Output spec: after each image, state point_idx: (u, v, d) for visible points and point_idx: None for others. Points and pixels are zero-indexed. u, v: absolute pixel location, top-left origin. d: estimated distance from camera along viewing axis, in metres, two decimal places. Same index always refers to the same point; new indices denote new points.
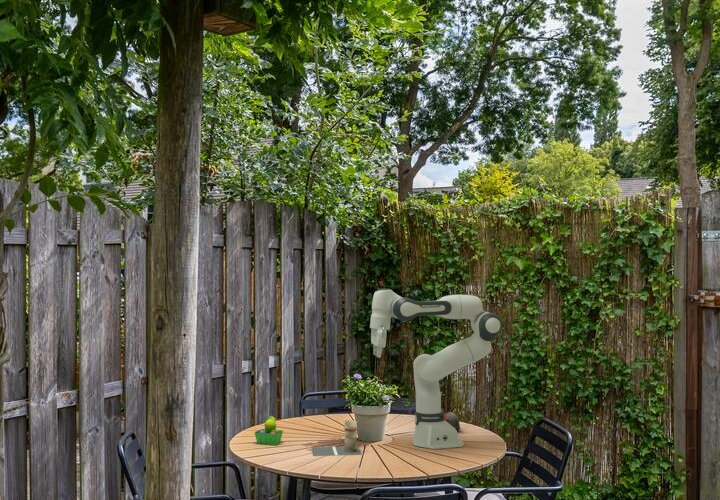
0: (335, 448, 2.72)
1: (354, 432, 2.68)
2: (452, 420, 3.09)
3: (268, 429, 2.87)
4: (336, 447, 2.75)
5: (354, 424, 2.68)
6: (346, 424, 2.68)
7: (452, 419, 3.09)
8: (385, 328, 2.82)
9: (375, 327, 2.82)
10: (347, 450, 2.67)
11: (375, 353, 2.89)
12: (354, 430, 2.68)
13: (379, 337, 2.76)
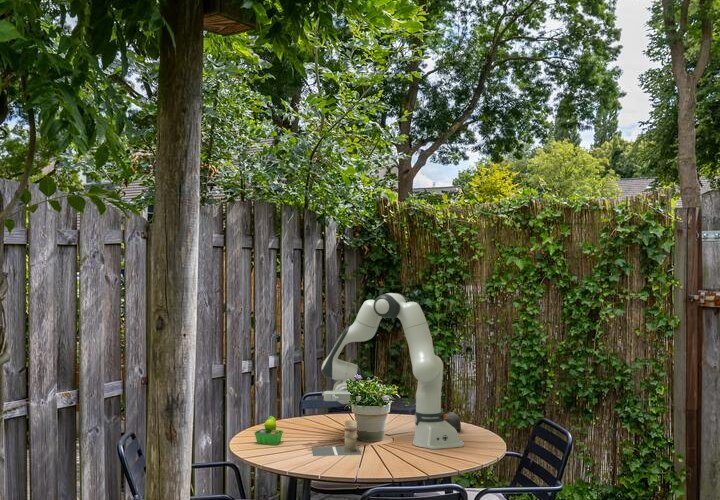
0: (335, 448, 2.72)
1: (354, 432, 2.68)
2: (453, 420, 3.09)
3: (268, 429, 2.87)
4: (336, 447, 2.75)
5: (354, 424, 2.68)
6: (346, 424, 2.68)
7: (453, 419, 3.09)
8: (336, 389, 2.94)
9: None
10: (347, 450, 2.67)
11: (356, 399, 2.84)
12: (354, 430, 2.68)
13: None
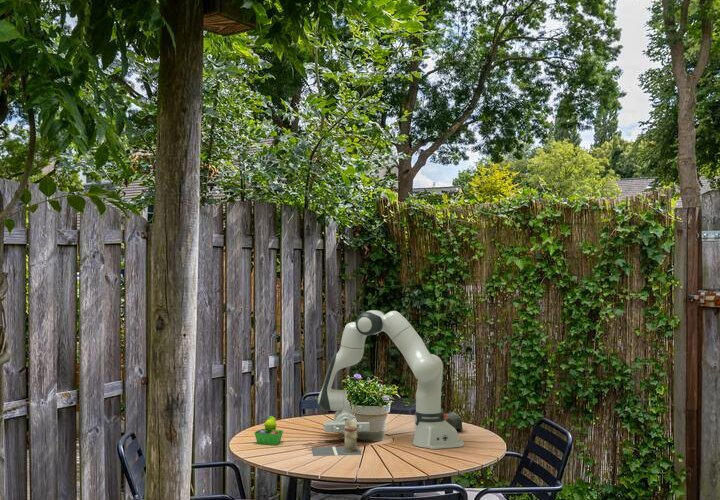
0: (335, 448, 2.72)
1: (354, 432, 2.68)
2: (455, 420, 3.09)
3: (268, 429, 2.87)
4: (336, 447, 2.75)
5: (354, 424, 2.68)
6: (346, 424, 2.68)
7: (455, 419, 3.09)
8: (337, 419, 2.91)
9: None
10: (347, 450, 2.67)
11: (357, 429, 2.80)
12: (354, 430, 2.68)
13: None
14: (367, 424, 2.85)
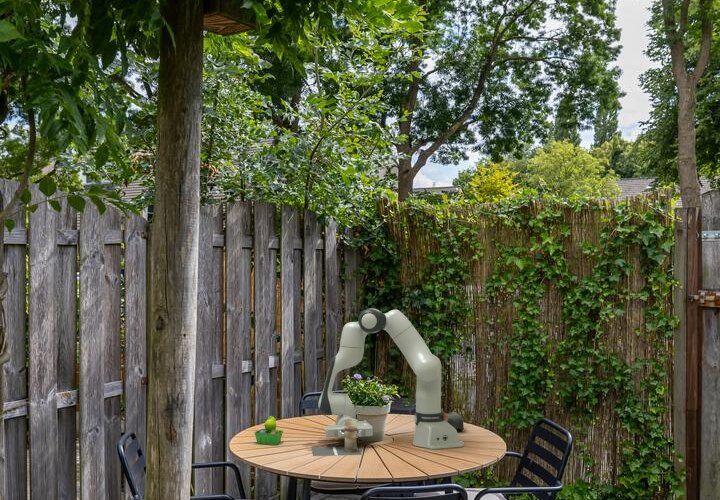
0: (335, 448, 2.72)
1: (354, 432, 2.68)
2: (456, 420, 3.09)
3: (268, 429, 2.87)
4: (336, 447, 2.75)
5: (354, 424, 2.68)
6: (346, 424, 2.68)
7: (456, 419, 3.09)
8: (338, 424, 2.81)
9: None
10: (347, 450, 2.67)
11: None
12: (354, 430, 2.68)
13: None
14: (370, 429, 2.75)
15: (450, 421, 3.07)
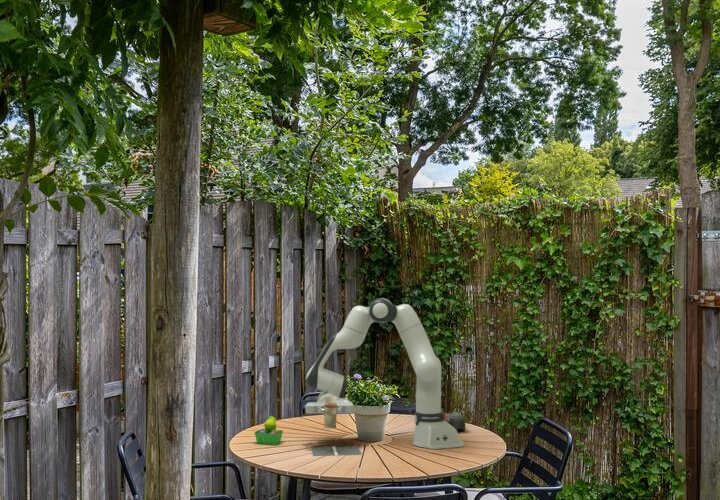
0: (335, 448, 2.72)
1: (334, 408, 2.68)
2: (458, 420, 3.09)
3: (268, 429, 2.87)
4: (336, 447, 2.75)
5: (334, 400, 2.68)
6: (326, 400, 2.68)
7: (458, 419, 3.10)
8: (319, 401, 2.81)
9: None
10: (327, 426, 2.67)
11: None
12: (334, 406, 2.68)
13: None
14: (350, 406, 2.74)
15: (452, 421, 3.07)
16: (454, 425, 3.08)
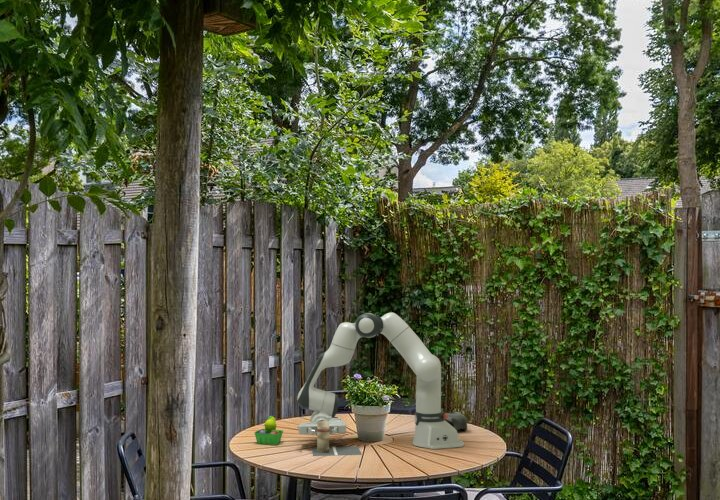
0: (335, 448, 2.72)
1: (326, 433, 2.66)
2: (460, 420, 3.09)
3: (268, 429, 2.87)
4: (336, 447, 2.75)
5: (326, 425, 2.67)
6: (318, 425, 2.67)
7: (459, 419, 3.10)
8: (312, 421, 2.80)
9: None
10: (319, 451, 2.66)
11: (331, 431, 2.69)
12: (326, 431, 2.66)
13: None
14: (343, 426, 2.73)
15: (454, 421, 3.08)
16: (456, 425, 3.08)
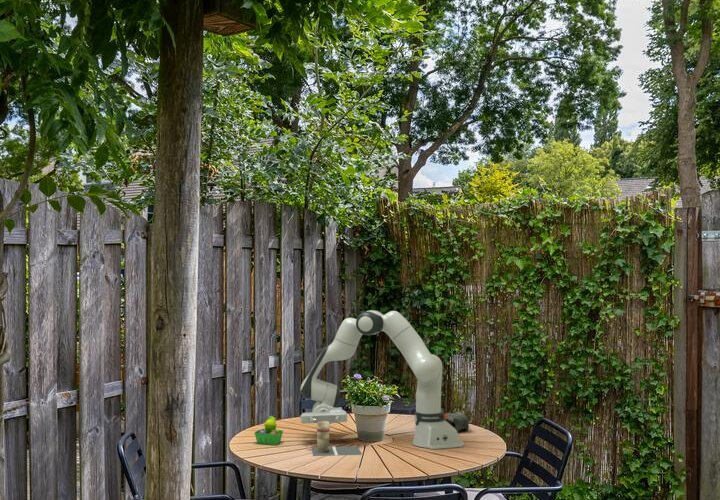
0: (335, 448, 2.72)
1: (326, 433, 2.66)
2: (461, 420, 3.10)
3: (268, 429, 2.87)
4: (336, 447, 2.75)
5: (326, 425, 2.67)
6: (318, 425, 2.67)
7: (461, 419, 3.10)
8: (314, 411, 2.89)
9: None
10: (319, 451, 2.66)
11: (334, 420, 2.78)
12: (326, 431, 2.66)
13: None
14: (344, 415, 2.83)
15: (455, 421, 3.08)
16: (458, 425, 3.08)
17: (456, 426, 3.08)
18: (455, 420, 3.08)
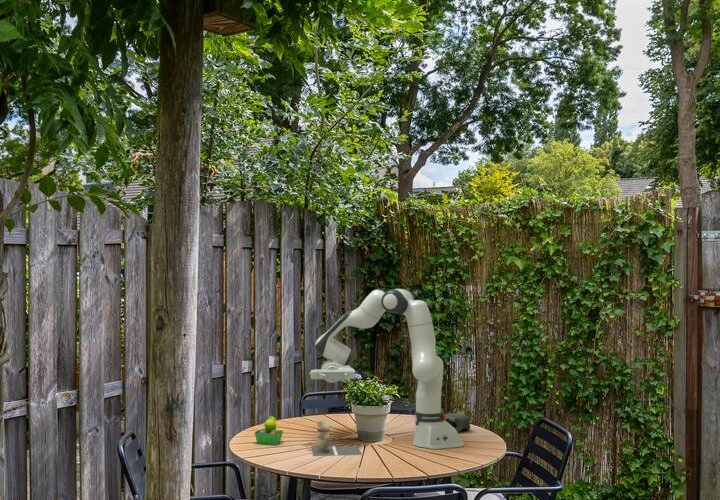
0: (335, 448, 2.72)
1: (326, 433, 2.66)
2: (463, 420, 3.10)
3: (268, 429, 2.87)
4: (336, 447, 2.75)
5: (326, 425, 2.67)
6: (318, 425, 2.67)
7: (462, 419, 3.10)
8: (323, 368, 2.95)
9: None
10: (319, 451, 2.66)
11: (342, 376, 2.85)
12: (326, 431, 2.66)
13: None
14: (353, 372, 2.89)
15: (457, 421, 3.08)
16: (459, 425, 3.08)
17: (457, 426, 3.08)
18: (456, 420, 3.08)
